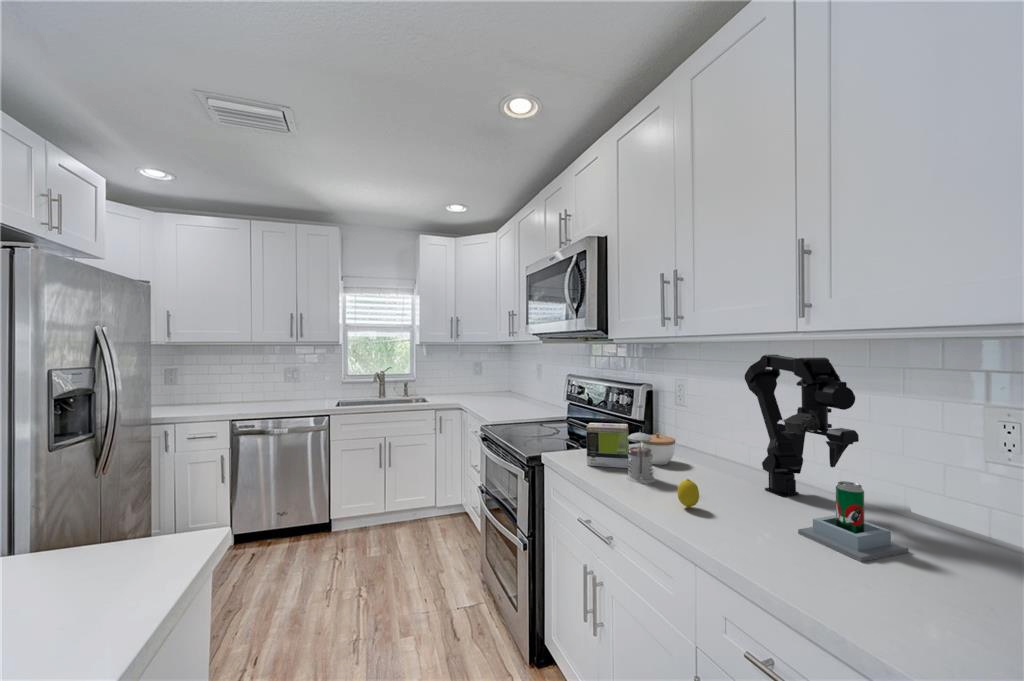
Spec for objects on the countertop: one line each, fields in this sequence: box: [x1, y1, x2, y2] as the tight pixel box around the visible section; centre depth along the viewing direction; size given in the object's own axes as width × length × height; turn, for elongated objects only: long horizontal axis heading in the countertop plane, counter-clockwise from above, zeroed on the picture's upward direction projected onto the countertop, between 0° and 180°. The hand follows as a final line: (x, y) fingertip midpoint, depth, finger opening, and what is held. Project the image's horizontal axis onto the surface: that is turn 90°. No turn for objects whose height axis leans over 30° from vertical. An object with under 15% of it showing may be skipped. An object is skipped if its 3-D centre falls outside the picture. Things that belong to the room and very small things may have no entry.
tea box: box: [585, 422, 630, 469], centre depth 162 cm, size 15×10×15 cm
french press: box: [624, 403, 657, 484], centre depth 144 cm, size 10×12×25 cm
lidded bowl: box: [641, 432, 676, 466], centre depth 164 cm, size 13×13×11 cm
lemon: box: [676, 478, 700, 509], centre depth 118 cm, size 6×6×8 cm
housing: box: [797, 514, 910, 563], centre depth 97 cm, size 14×14×4 cm
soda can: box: [835, 481, 865, 534], centre depth 97 cm, size 5×5×12 cm
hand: (815, 462), depth 115 cm, fingers open, 9 cm apart
